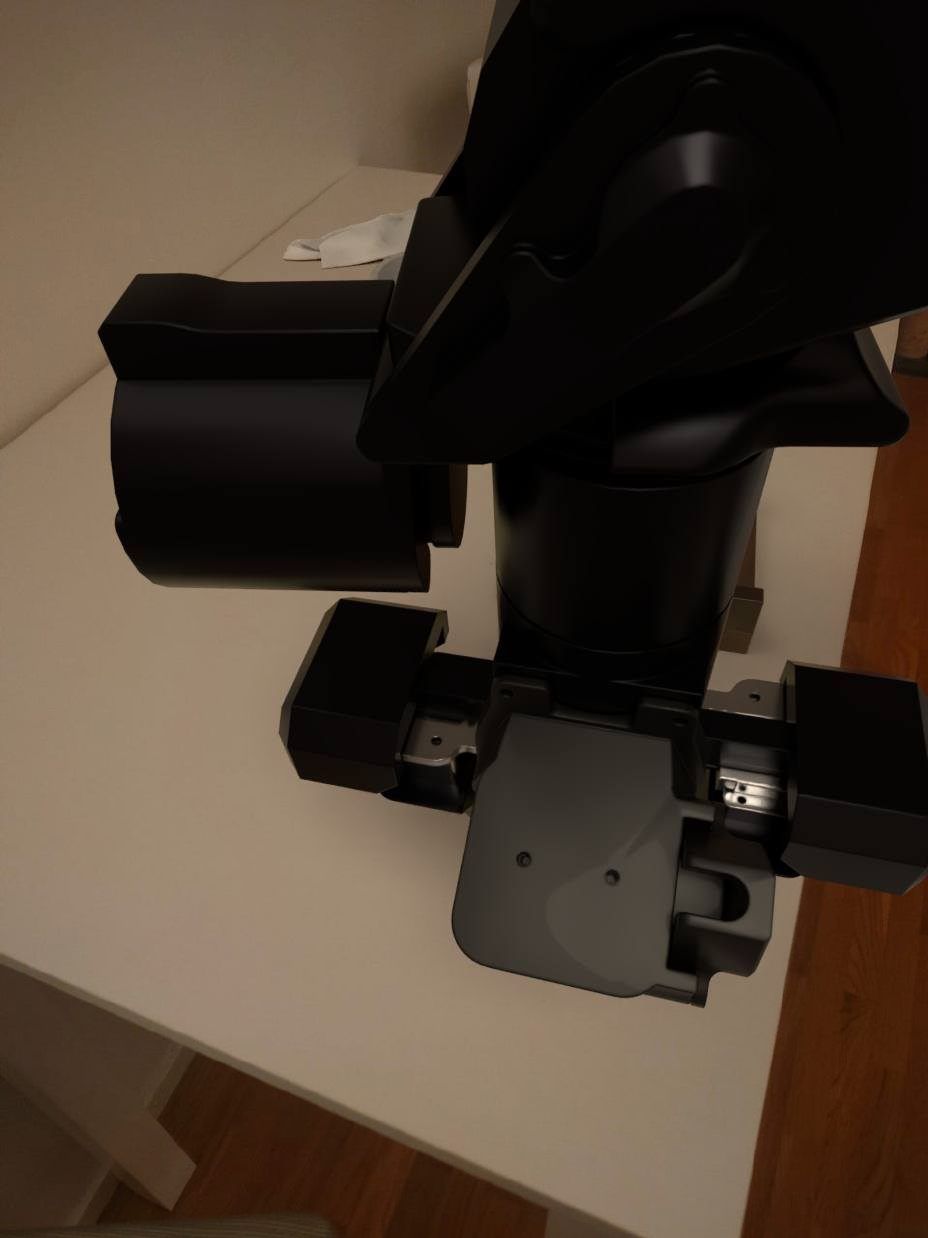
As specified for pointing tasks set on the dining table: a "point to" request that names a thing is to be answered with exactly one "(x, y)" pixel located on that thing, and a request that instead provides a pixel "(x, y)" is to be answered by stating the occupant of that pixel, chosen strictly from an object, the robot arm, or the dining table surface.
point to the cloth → (357, 242)
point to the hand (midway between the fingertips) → (581, 847)
